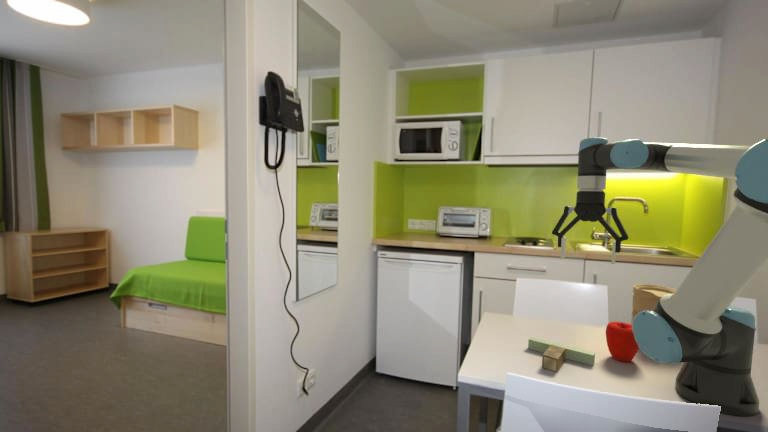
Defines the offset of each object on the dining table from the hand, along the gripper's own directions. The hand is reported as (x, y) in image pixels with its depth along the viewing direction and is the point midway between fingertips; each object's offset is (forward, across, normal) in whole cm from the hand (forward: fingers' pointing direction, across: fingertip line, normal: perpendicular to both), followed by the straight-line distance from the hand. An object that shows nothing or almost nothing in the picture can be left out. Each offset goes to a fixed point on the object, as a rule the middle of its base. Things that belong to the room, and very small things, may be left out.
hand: (587, 260), depth 113 cm
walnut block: (+27, +5, +10) cm, 29 cm away
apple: (+29, -10, -2) cm, 31 cm away
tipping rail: (+29, +5, +7) cm, 30 cm away
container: (+29, -17, -24) cm, 41 cm away
